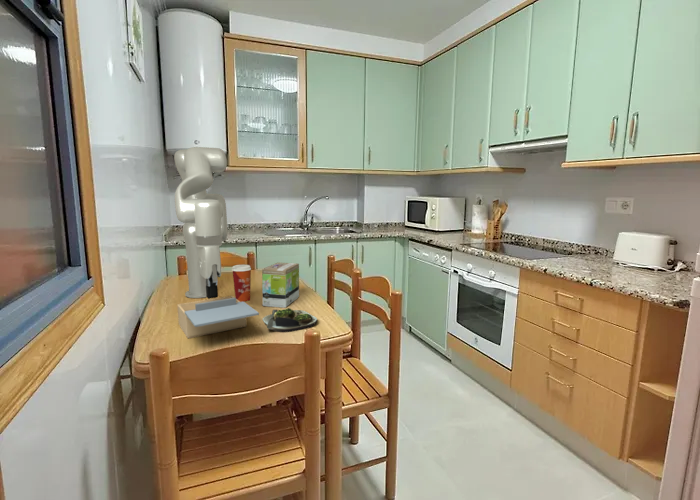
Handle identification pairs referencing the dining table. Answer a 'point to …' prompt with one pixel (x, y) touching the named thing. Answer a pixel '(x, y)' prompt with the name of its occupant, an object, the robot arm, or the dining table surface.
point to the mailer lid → (219, 312)
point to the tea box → (280, 284)
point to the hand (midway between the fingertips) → (212, 297)
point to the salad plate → (289, 320)
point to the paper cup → (242, 282)
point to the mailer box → (205, 329)
